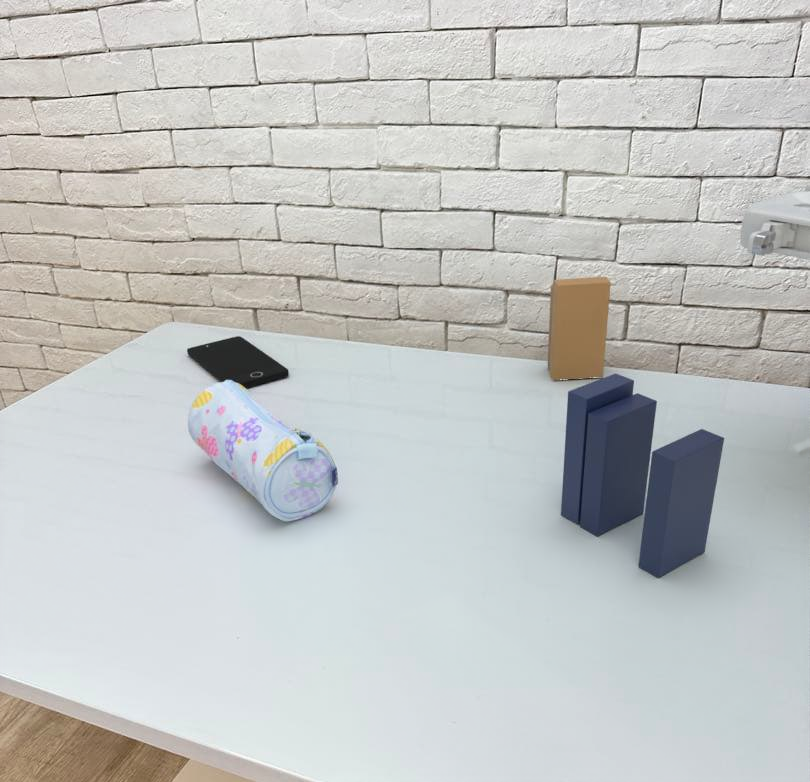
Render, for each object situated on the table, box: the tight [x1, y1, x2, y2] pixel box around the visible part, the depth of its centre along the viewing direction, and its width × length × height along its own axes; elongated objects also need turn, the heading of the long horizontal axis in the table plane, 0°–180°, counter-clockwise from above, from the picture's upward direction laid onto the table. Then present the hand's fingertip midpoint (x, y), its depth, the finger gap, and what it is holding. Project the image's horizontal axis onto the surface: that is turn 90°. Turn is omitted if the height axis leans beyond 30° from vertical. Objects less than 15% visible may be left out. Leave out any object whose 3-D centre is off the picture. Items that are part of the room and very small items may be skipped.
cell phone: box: [186, 335, 290, 389], centre depth 125 cm, size 9×18×1 cm, turn 32°
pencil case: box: [187, 380, 339, 522], centre depth 93 cm, size 21×9×10 cm, turn 35°
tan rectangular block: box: [546, 276, 612, 380], centre depth 113 cm, size 7×5×13 cm
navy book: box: [637, 428, 725, 579], centre depth 76 cm, size 6×2×12 cm, turn 126°
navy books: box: [560, 372, 658, 537], centre depth 83 cm, size 7×5×14 cm
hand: (803, 254), depth 72 cm, fingers open, 8 cm apart
